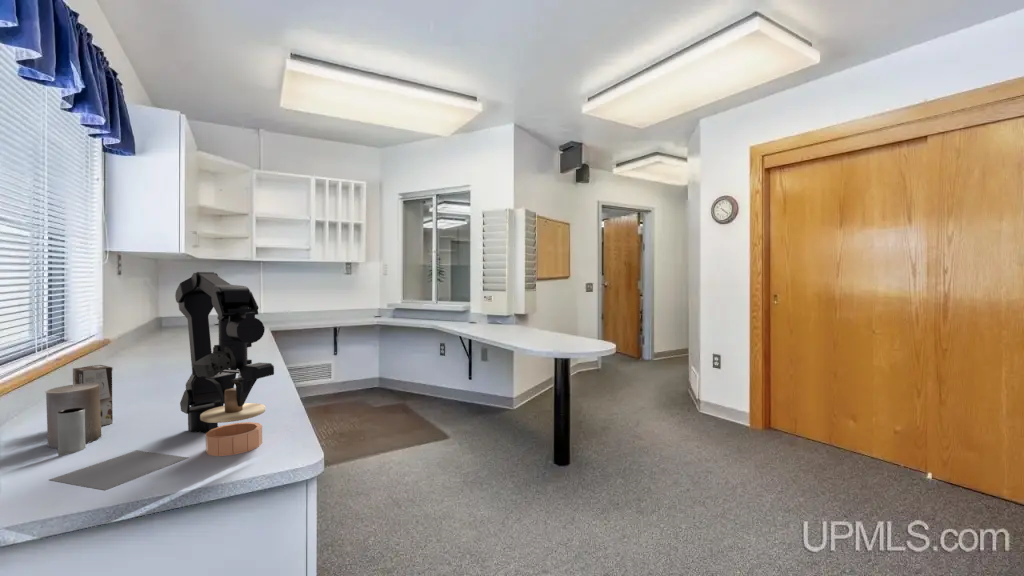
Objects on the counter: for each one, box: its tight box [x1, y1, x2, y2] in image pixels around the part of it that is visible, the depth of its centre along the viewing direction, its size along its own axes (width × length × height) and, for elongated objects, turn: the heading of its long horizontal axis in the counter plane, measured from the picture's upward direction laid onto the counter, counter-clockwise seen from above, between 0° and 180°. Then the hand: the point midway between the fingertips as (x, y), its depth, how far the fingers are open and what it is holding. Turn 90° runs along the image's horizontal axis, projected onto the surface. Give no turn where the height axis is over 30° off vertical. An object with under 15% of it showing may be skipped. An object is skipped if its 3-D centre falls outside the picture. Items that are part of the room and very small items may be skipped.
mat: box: [48, 449, 190, 491], centre depth 93 cm, size 16×16×1 cm
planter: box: [57, 408, 86, 457], centre depth 103 cm, size 4×4×10 cm
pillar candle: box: [44, 382, 102, 449], centre depth 112 cm, size 10×10×15 cm
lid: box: [200, 387, 266, 424], centre depth 105 cm, size 13×13×6 cm
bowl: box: [205, 421, 263, 457], centre depth 105 cm, size 11×11×5 cm
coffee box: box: [72, 364, 114, 427], centre depth 126 cm, size 9×6×16 cm
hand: (234, 405), depth 105 cm, fingers closed on lid, 4 cm apart
